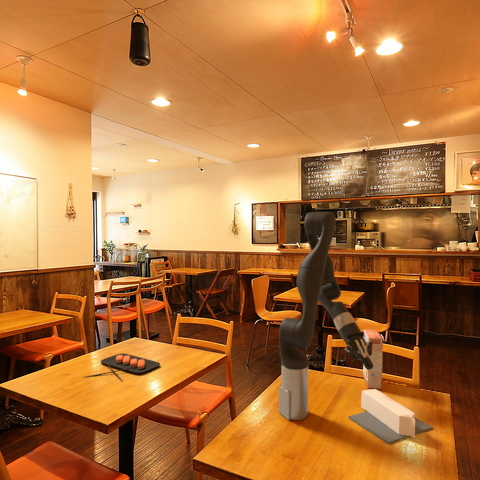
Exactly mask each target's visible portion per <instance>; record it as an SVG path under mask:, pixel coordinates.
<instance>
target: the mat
mask: <svg viewBox="0 0 480 480" xmlns="http://www.w3.org/2000/svg"><path fill="white" fill-rule="evenodd" d="M348 419H349V420H351V421H352V422H354V423H355V424H357V425H358V426H360V427H361V428H362V429H364V430H366V431H367V432H369V433H371V434H372V435H374V437H375V436H376V437H377V438H378V439H380V440H381V441H383V442H384V443H386V444H387V445H390V444H393V443H396V442H399V441H401V440H404V439H407V438H410V437H411V436H405V435H399V434H397V433H396V432H395V431H393V430H392V429H391V428H389V427H388V426H387V425H385V424H384V423H382V422H381V421H380V420H378V419H377V418H376V417H374V416H373V415H372V414H370V413H369V412H367V411H366V410H365V411H363V412H359V413H356V414H351V415H348ZM433 429H434V426H432V425H430V424H428V423H427V422H424V421H423V420H421V419H419V418H417V417H415V436H416V435H420V434H422V433H424V432H427V431H431V430H433ZM411 438H412V437H411Z"/></svg>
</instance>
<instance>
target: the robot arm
mask: <svg viewBox="0 0 480 480" xmlns="http://www.w3.org/2000/svg"><path fill="white" fill-rule="evenodd" d="M336 219H337V218H336V215H335V214H334V213H333V212H328V211H327V212H326V211H311V212H308V213H307V214H306V216H305V217H304V221H303V223H304V224H303V227H304V230H305V231H304V232H305V235H306V238H307V242H308V244H309V245H308V246H309V247H310V252H309V253H308V254H307V255H306V256H305V258H303V260H302V261H301V263H300V265H299V268H298V272H297V275H296V276H297V277H296V281H295V282H296V288H297V292H298V294H299V296H300V300H301V302H302V317H301V319H299V318H293V317H292V318H291V317H285V318H284V319H282V321H281V322H280V325H279V329H278V341H279V357H280V362H281V372H280V373H281V375H280V376H281V379H280V381H281V385H279V386H278V413H279V414H280V415H282V417H284V418H285V420H287V421H291V420H293V421H299V420H300V421H301V420H305V419H306V418H307V417H308V415H309V405H308V404H309V359H308V357H307V355H306V354H304V353H303V352H302V351H300V350H299V349H298V348H301V349H308V347H310V346H311V344H312V342H313V337H314V332H315V327H316V324H315V323H316V316H317V309H318V303H319V304H320V305H322V307H324V309H325V310H326V311H327V312H328V313H329V316H330V317H331V319H332V321H333V323H334V326H335V328H336V330H337V331H338V334H339V335H340V337H341V339H342V340H343V342H344V343H345V345H346V346H345V348H344V349H343V351H344V352H345V353H346V354H347V355H349V356H350V357H352V359H354V360H356V361H358V360H359V361H360V362H361V363H362V365H364V366H365V368H366V369H367V370H370V369H372V368H373V364H372V362H371V360H370V358H369V356H371V355H372V342H369V343H368V342H366V341H365V339H364V336H362V335H363V334H362V331H361V329H360V327H359V326H358V324H357V322H356V321H355V319H354V317H353V315H352V314H351V313H350V312H349V310H348V308H347V306H346V305H345V303H344V302H343V301H334V300H337V299H339V298H340V297H341V295H342V291H341V288H340V285H339V284H338V282H337V278H336V277H335V271H334V270H335V269H334V263H333V259H332V258H331V256H330V255H329V250H330V247H331V244H332V241H333V237H334V235H335V231H336V230H335V229H336V226H337V225H336V224H337V222H336V221H337V220H336ZM322 284H324V285H322Z"/></svg>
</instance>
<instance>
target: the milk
mask: <svg viewBox="0 0 480 480" xmlns="http://www.w3.org/2000/svg"><path fill="white" fill-rule="evenodd" d="M360 400H361V402H360V408H361V409H363V410H364V411H365V412H366V411H367V412H369V413H370V414H372V415H373V416H374V417H376V418H377V419H378V420H380V421H381V422H382V423H384V424H385V425H387V426H388V427H389V428H391V429H392V430H393V431H395V432H396V433H397V434H399V435H405V436H411V438H412V439H416V435H415V418H416V415H415V414H416V413H414V412H413V411H411V410H410V409H408V408H407V407H405V406H403V405H402V404H401V403H399V402H397V401H396V400H394V399H392V398H391V397H389V396H388V395H386V394H384V393H383V392H382V391H380V390H379V389H374V388H370V389H365V390H361V399H360Z"/></svg>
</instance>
